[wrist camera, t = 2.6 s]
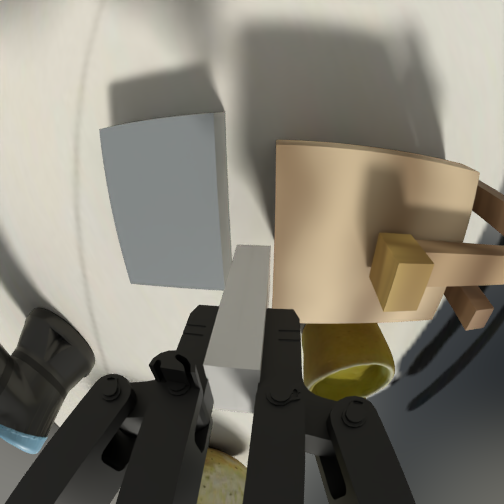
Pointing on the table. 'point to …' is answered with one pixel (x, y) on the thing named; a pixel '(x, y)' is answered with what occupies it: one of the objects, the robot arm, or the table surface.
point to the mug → (346, 360)
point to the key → (429, 268)
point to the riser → (171, 199)
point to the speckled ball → (222, 479)
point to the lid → (357, 224)
